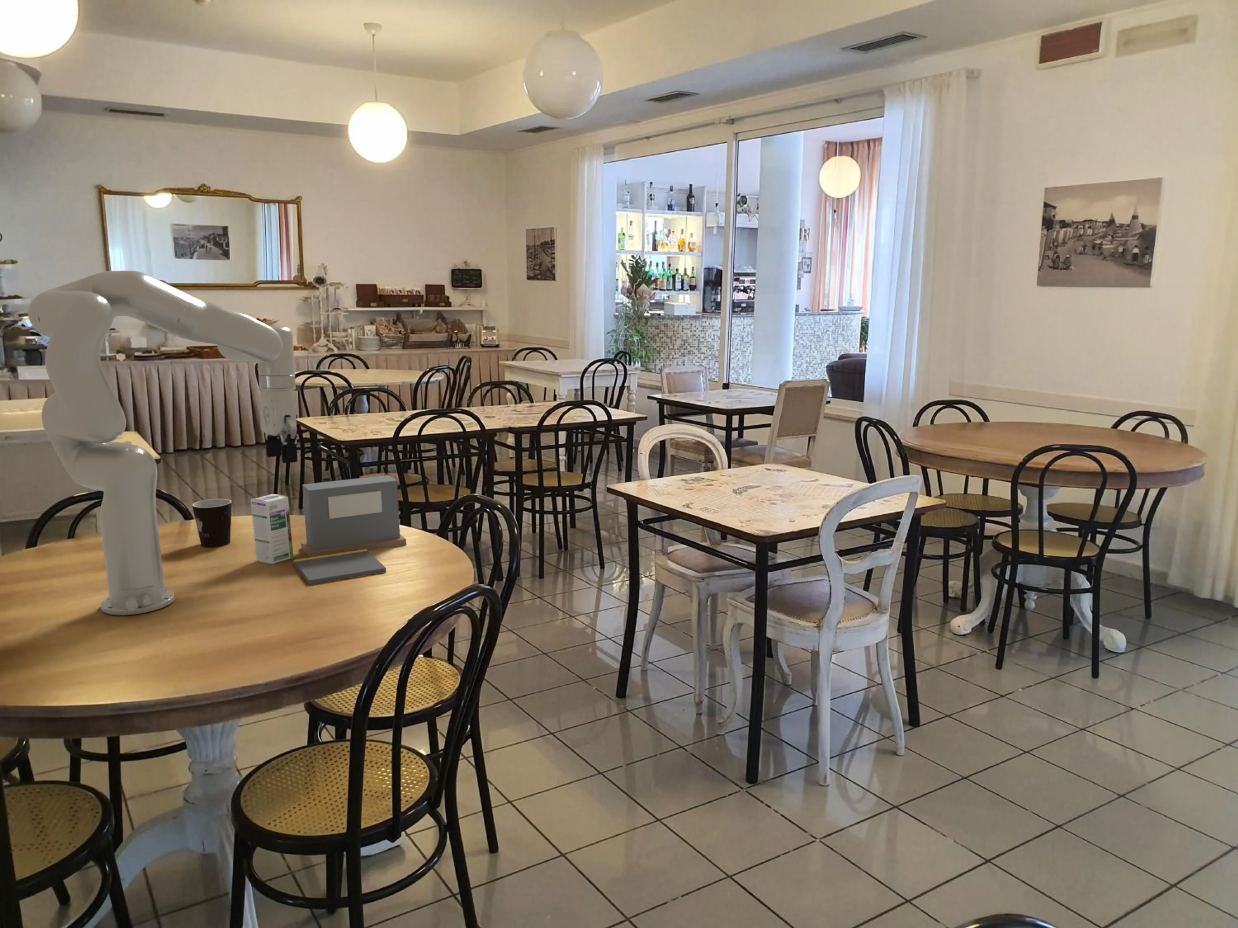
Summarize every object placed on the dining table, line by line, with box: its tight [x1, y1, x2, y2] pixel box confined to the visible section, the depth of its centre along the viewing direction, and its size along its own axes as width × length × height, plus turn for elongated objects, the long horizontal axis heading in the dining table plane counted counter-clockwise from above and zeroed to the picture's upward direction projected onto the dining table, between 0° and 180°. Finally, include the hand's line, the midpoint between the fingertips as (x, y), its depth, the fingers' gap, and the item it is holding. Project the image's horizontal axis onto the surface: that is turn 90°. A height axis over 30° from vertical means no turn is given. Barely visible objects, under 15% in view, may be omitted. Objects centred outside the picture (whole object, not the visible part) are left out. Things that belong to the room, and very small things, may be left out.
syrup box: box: [250, 493, 294, 565], centre depth 202 cm, size 6×6×14 cm
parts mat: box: [293, 549, 387, 586], centre depth 196 cm, size 16×16×1 cm
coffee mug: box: [192, 498, 233, 549], centre depth 213 cm, size 12×9×10 cm
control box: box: [300, 474, 407, 558], centre depth 211 cm, size 10×22×16 cm, turn 120°
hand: (281, 459), depth 202 cm, fingers open, 9 cm apart
